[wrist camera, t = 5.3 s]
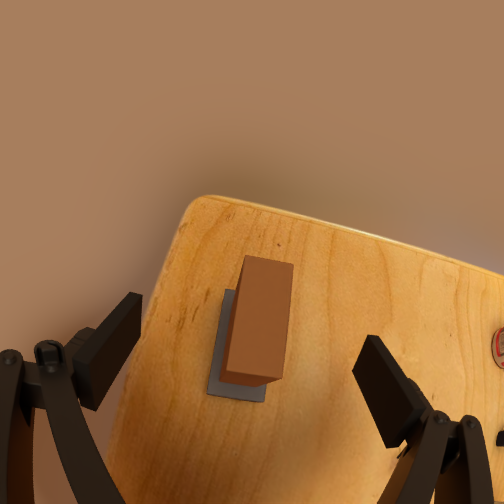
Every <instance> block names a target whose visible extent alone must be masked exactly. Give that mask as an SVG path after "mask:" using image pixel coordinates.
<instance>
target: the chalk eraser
mask: <svg viewBox="0 0 504 504" xmlns="http://www.w3.org/2000/svg"><path fill="white" fill-rule="evenodd" d="M293 267H294V265H293V264H291V263H285V262H280V261H275V260H270V259H265V258H260V257H254V256H249V255H245V258H244V261H243V265H242V269H241V273H240V276H239V280H238V284H237V288H236V290H230V289H225V294H224V299H223V305H222V310H221V315H220V321H219V326H218V332H217V337H216V343H215V348H214V354H213V359H212V365H211V371H210V376H209V382H208V388H207V394H208V395H213V396H219V397H225V398H231V399H237V400H244V401H251V402H264V399H265V392H266V385H267V383H270V382H273V381H276V380H279V379H282V377H283V368H284V360H285V351H286V342H287V332H288V322H289V312H290V302H291V291H292V279H293Z"/></svg>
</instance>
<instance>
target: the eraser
mask: <svg viewBox="0 0 504 504" xmlns="http://www.w3.org/2000/svg"><path fill="white" fill-rule="evenodd" d="M496 445H497V446H504V431H501V432H499V433H498V437H497V442H496Z"/></svg>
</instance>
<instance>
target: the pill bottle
mask: <svg viewBox="0 0 504 504" xmlns="http://www.w3.org/2000/svg"><path fill="white" fill-rule="evenodd" d="M492 349H493V356H494V359H495V361H496V363H497V364H498V365H499V367H501V368H504V327H503V328H501V329H499V330H498V331H497V332H496V333H495V335H494V338H493V344H492Z"/></svg>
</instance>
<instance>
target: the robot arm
mask: <svg viewBox="0 0 504 504" xmlns="http://www.w3.org/2000/svg"><path fill="white" fill-rule="evenodd" d="M141 313H142V295H141V294H137V293H133V292H129V293H128V294H127V296H126V297H125V298H124V299H123V300H122V301H121V302H120V303H119V304H118V305H117V306H116V308H115V309H114V310H113V311H112V312H111V313H110V314H109V315H108V317H107V318H106V319H105V320H104V321H103V322H102V323H101V324H100V326H99V327H98V328H97V329H96V330H95V329H92V328H89V327H86V328H84V329H82V330H80V331H78V332H77V333H76V334H75V336H74V337H73V338H72V339H71V340H70V341H69V342H68V343H67V344H66V345H65V346H64V347H63V346H62V344H61V343H59V342H57V341H54V340H45V341H41V342H39V343H37V345H36V346H35V348H34V354H35V358H36V363H33V362H27V361H24V360H23V356H22V355H21V353H20V352H18V351H16V350H13V349H7V350H4V351H2V352H1V353H0V504H35V503H34V490H33V431H34V430H33V429H34V416H35V408H40V409H46V412H47V416H48V420H49V424H50V427H51V431H52V434H53V438H54V441H55V444H56V447H57V451H58V454H59V457H60V460H61V462H62V465H63V468H64V471H65V473H66V476H67V478H68V481H69V483H70V486H71V489H72V491H73V493H74V495H75V498H76V500H77V502H78V504H126V503H125V501H124V500H123V498H122V496H121V494H120V493H119V491H118V489H117V487H116V485H115V484H114V482H113V480H112V478H111V476H110V474H109V472H108V470H107V468H106V466H105V464H104V462H103V460H102V458H101V456H100V454H99V452H98V449H97V447H96V445H95V443H94V440H93V438H92V436H91V434H90V431H89V429H88V426H87V423H86V421H85V418H84V416H83V413H82V410H81V408H80V405H79V402H78V398H79V400H80V404H81V406H82V407H85V408H87V409H90V410H93V411H97V409H98V407H99V406H100V404H101V402H102V400H103V398H104V397H105V395H106V393H107V392H108V390H109V388H110V386H111V385H112V383H113V381H114V379H115V378H116V376H117V374H118V373H119V371H120V369H121V368H122V366H123V364H124V363H125V361H126V359H127V358H128V356H129V354H130V353H131V351H132V349H133V348H134V346H135V344H136V343H137V341H138V340H139V338H140V336H141ZM352 372H353V374H354V377H355V379H356V381H357V383H358V385H359V388H360V390H361V392H362V394H363V396H364V399H365V401H366V403H367V405H368V408H369V410H370V412H371V414H372V417H373V419H374V421H375V424H376V426H377V428H378V430H379V433H380V435H381V437H382V440H383V442H384V445H385V447H386V448H395V447H399V446H400V445H401V443H402V442H403V441H404V440H406V442H407V445H406V447H405V448H404V449H403V450H402V452H401V453H400V454H399V455H398V457H397V459H398V458H399V457H400V459H399V461H398V463H397V465H396V467H395V469H394V471H393V474H392V476H391V478H390V480H389V482H388V484H387V485H386V487H385V489H384V491H383V493H382V495H381V497H380V499H379V500H378V502H377V504H430V501H431V498H432V495H433V492H434V489H435V496H434V504H494V497H493V488H492V480H491V473H490V467H489V461H488V455H487V450H486V445H485V440H484V436H483V431H482V427H481V424H480V422H479V421H478V419H477V418H476V417H474V416H471V415H465V416H463V418H462V419H461V420H460V422H455V421H451V420H450V418H449V416H447V415H446V414H445V413H444V412H442V411H438V410H434V409H433V408H432V406H431V405H430V403H429V402H428V400H427V399H426V397H425V396H424V394H423V393H422V391H420V388H419V387H418V385H417V384H416V383H415V382H414V381H413V380H411V379H410V378H407V377H406V375H405V374H404V372H403V371H402V369H401V368H400V366H399V365H398V363H397V362H396V360H395V359H394V358H393V356H392V355H391V353H390V352H389V350H388V349H387V347H386V346H385V345H384V343H383V342H382V340H381V339H380V337H379V336H376V335H367V337H366V340H365V342H364V345H363V347H362V349H361V352H360V354H359V356H358V359H357V361H356V363H355V365H354V368H353V370H352Z"/></svg>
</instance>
